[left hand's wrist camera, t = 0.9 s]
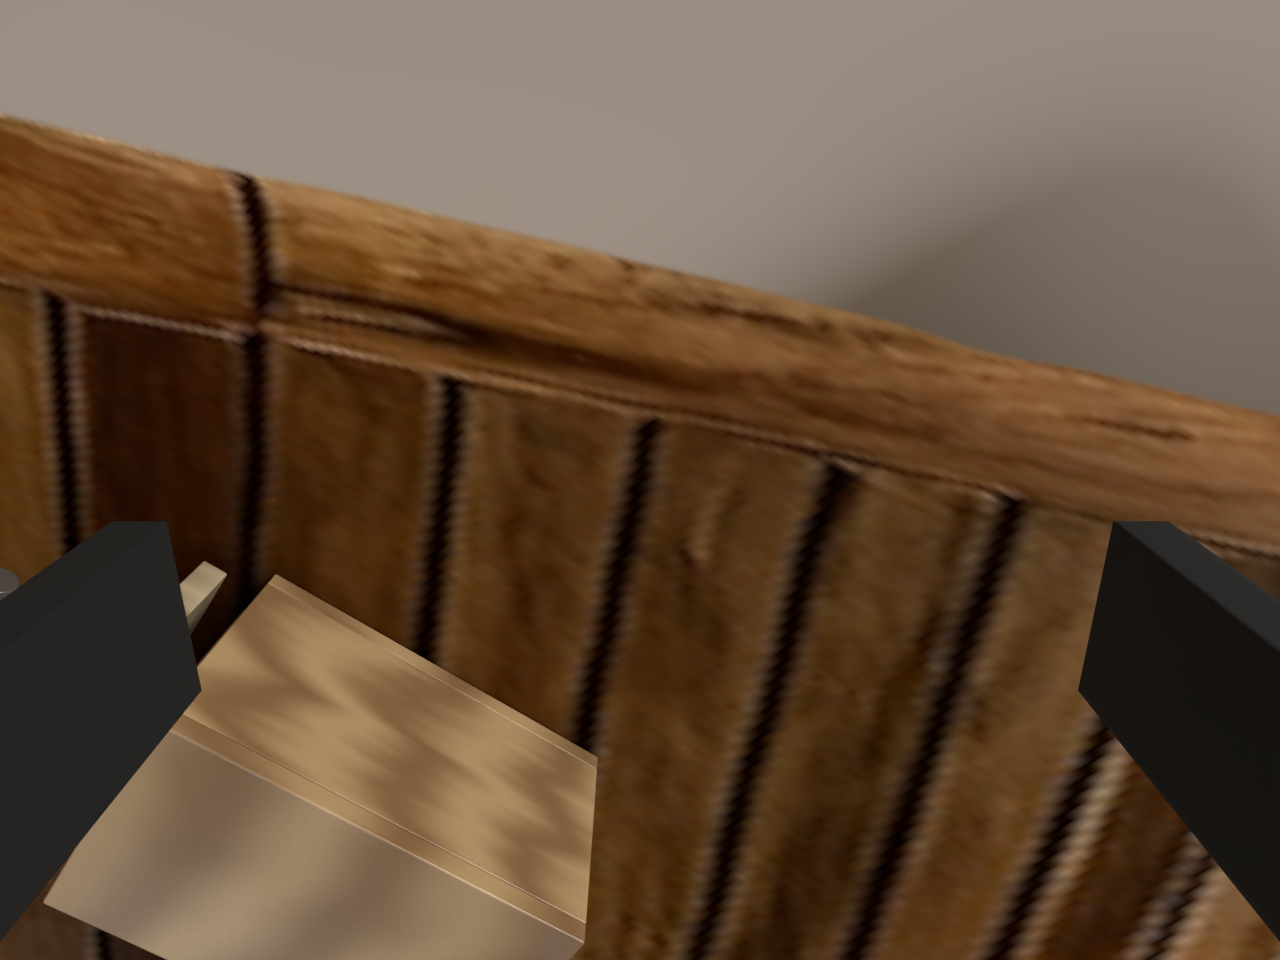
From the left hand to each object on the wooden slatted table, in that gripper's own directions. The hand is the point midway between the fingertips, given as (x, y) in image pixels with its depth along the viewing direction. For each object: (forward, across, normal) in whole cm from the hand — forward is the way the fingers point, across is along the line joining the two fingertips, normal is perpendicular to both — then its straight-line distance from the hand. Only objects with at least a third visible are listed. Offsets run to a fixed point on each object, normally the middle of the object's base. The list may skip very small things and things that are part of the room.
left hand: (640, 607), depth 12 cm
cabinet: (+26, +13, +22) cm, 37 cm away
